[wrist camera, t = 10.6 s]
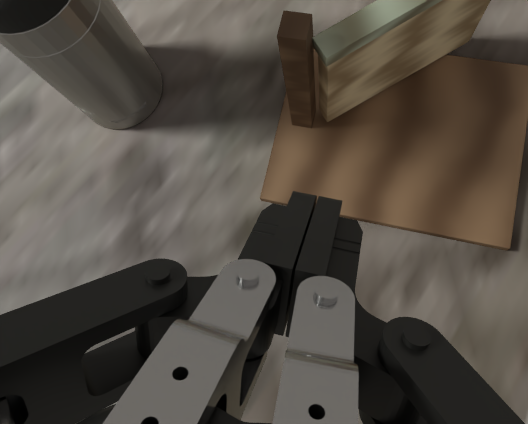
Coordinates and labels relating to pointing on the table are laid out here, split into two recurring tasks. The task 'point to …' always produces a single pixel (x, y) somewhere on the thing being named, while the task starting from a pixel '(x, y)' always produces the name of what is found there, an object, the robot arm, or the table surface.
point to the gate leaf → (387, 46)
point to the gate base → (406, 144)
